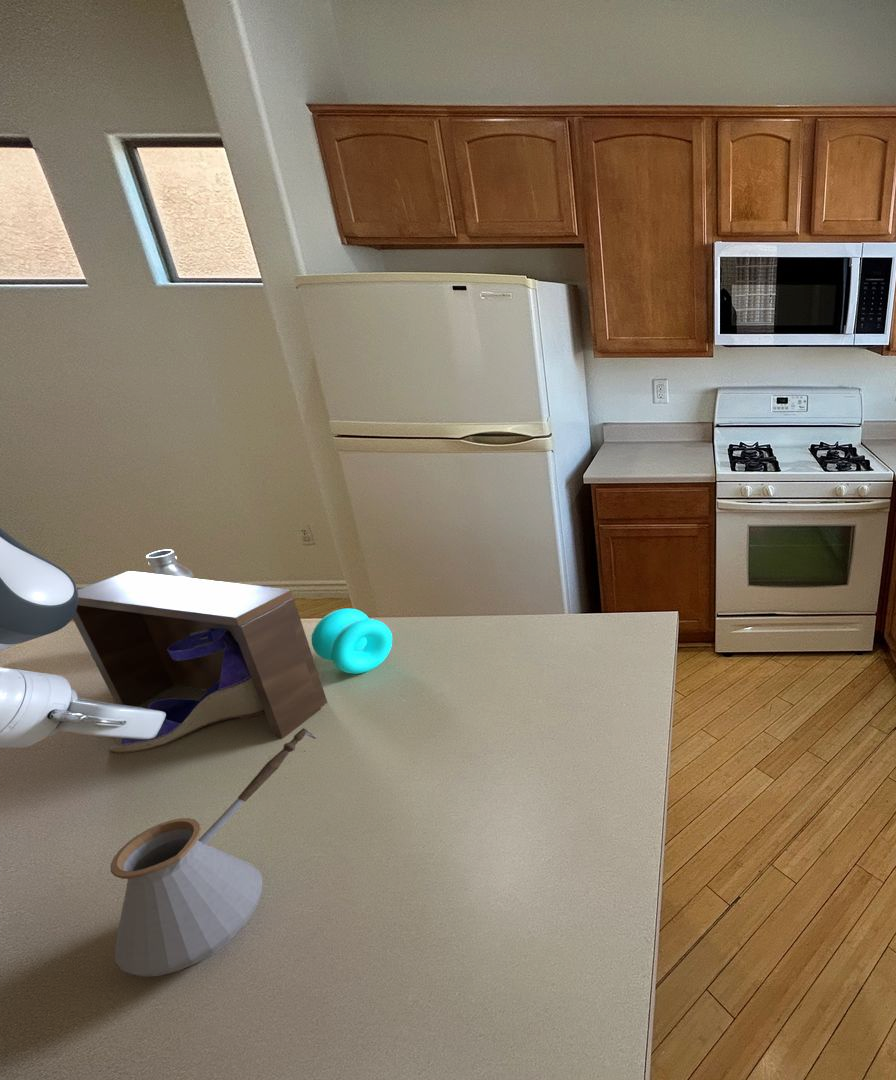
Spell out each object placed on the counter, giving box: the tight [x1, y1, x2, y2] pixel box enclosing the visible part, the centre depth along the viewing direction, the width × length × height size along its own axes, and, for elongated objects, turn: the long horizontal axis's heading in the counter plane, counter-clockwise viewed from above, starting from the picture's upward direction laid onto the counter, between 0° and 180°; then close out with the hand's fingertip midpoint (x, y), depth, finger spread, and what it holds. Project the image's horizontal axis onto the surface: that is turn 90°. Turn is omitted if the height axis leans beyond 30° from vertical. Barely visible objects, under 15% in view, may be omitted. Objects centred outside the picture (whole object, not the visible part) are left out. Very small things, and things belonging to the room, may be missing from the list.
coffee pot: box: [110, 727, 319, 977], centre depth 60 cm, size 21×12×15 cm, turn 159°
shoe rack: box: [72, 570, 328, 739], centre depth 87 cm, size 32×9×21 cm, turn 79°
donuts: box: [311, 607, 393, 675], centre depth 101 cm, size 10×10×10 cm
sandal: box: [105, 628, 265, 754], centre depth 84 cm, size 8×20×15 cm, turn 109°
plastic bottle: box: [145, 549, 196, 579], centre depth 103 cm, size 6×7×20 cm
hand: (142, 719), depth 80 cm, fingers closed
